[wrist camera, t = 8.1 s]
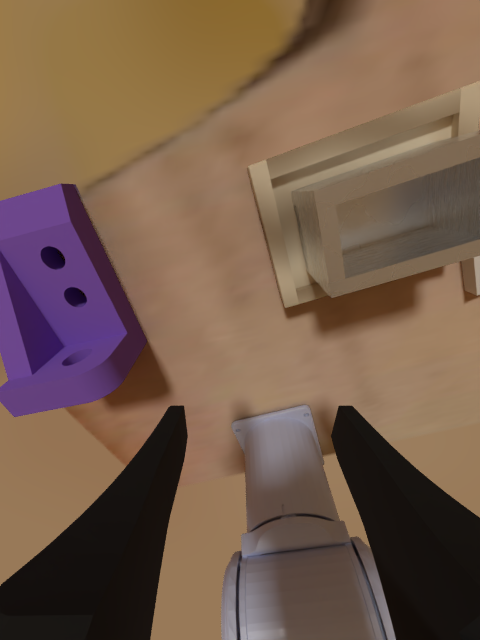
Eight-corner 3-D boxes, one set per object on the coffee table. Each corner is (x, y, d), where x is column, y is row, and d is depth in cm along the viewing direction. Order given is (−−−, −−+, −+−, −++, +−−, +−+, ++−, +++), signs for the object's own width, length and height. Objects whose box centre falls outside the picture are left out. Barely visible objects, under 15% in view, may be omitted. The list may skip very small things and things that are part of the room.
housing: (430, 232, 16) (504, 248, 12) (306, 270, 17) (331, 298, 13) (432, 142, 14) (525, 118, 9) (290, 191, 15) (313, 191, 10)
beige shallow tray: (443, 249, 18) (466, 256, 16) (280, 297, 20) (285, 308, 18) (451, 93, 14) (483, 79, 12) (247, 169, 16) (248, 165, 14)
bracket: (148, 339, 22) (113, 397, 15) (75, 354, 22) (14, 417, 16) (75, 184, 16) (-22, 179, 10) (-18, 210, 17) (-163, 221, 11)
